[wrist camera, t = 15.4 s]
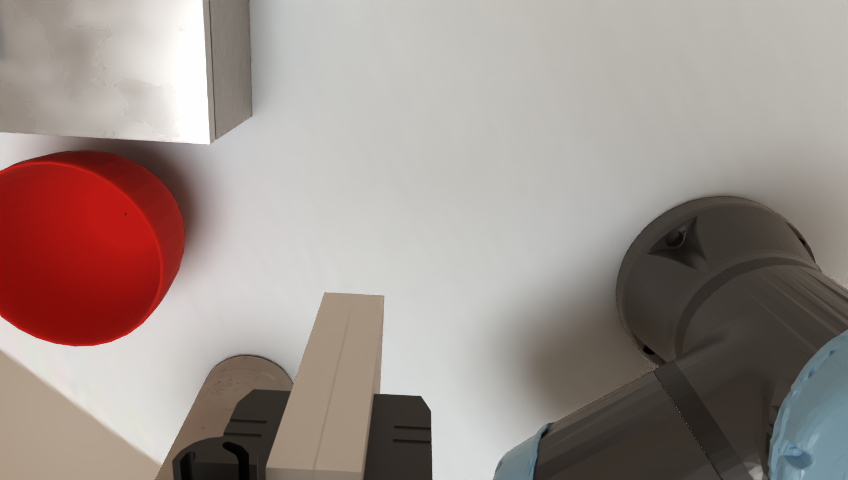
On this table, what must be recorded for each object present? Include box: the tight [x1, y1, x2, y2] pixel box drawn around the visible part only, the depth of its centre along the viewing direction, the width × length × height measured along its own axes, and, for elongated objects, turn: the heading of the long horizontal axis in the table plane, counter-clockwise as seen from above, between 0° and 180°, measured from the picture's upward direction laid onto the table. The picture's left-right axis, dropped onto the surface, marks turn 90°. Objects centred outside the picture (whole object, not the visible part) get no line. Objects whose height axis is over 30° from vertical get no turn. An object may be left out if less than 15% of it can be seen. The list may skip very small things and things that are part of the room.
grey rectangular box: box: [209, 0, 252, 140], centre depth 42 cm, size 18×15×9 cm
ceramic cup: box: [0, 150, 185, 346], centre depth 47 cm, size 13×17×10 cm
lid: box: [0, 0, 215, 144], centre depth 36 cm, size 16×15×2 cm
